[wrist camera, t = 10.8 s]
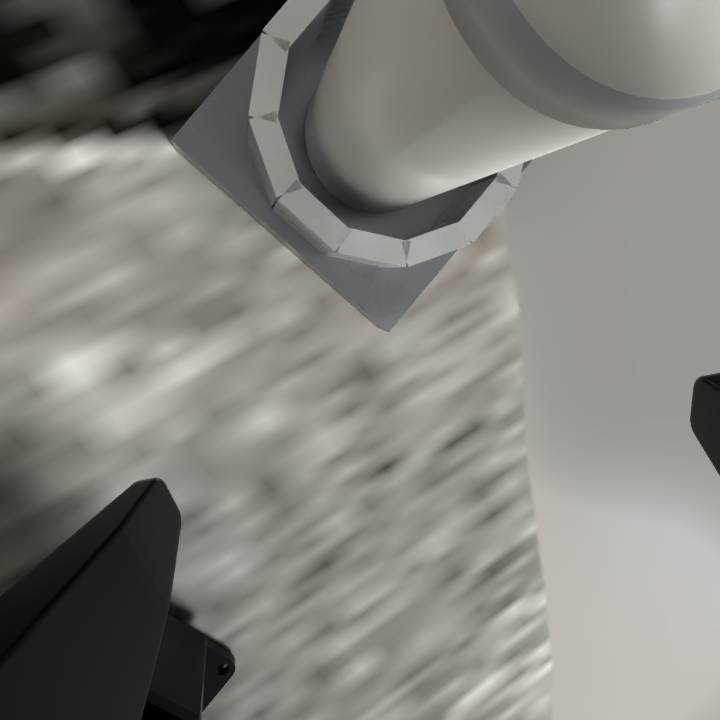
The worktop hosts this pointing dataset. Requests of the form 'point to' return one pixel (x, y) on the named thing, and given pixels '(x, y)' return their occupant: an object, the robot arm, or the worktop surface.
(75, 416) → the worktop surface
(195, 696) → the robot arm
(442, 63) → the white cylinder
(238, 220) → the worktop surface
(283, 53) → the duct collar
